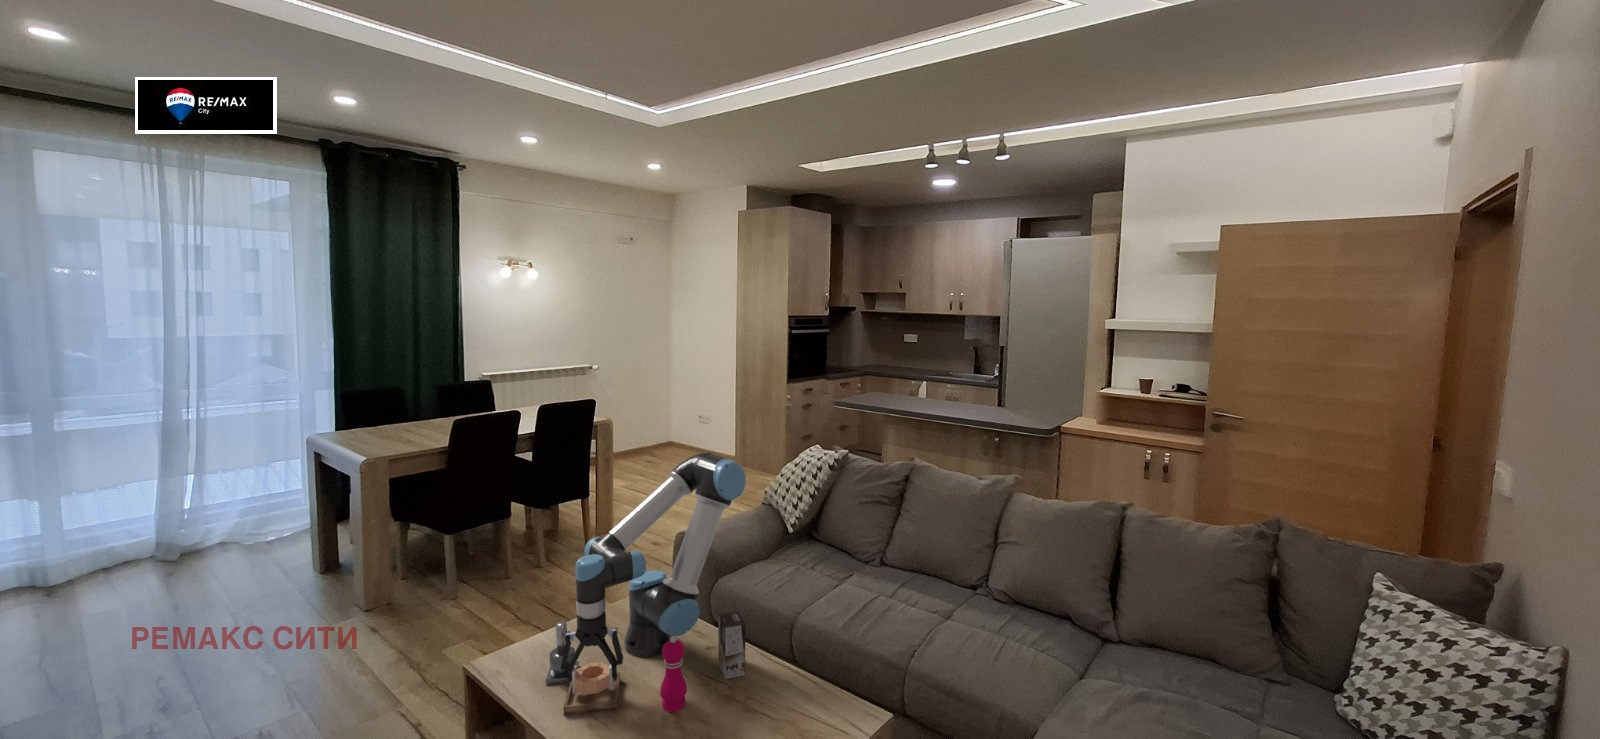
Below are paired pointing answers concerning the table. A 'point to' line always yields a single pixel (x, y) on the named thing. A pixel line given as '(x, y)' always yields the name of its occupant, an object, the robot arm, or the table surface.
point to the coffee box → (731, 644)
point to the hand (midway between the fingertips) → (593, 688)
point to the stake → (559, 657)
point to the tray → (592, 700)
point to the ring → (592, 678)
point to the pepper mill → (673, 676)
